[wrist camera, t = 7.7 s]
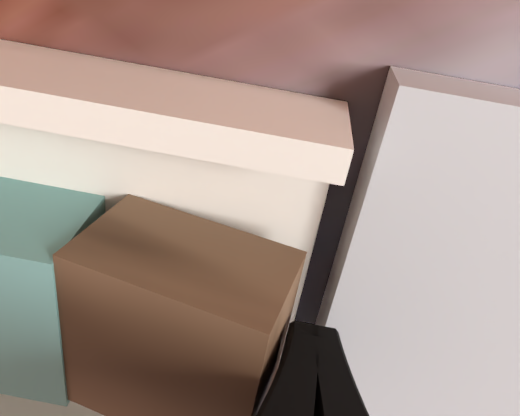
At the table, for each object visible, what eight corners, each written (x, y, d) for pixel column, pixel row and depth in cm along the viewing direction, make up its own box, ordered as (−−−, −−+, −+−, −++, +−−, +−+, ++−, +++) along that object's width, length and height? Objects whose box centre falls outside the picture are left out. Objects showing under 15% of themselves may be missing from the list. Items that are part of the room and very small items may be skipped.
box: (269, 409, 18) (261, 485, 15) (-83, 341, 18) (-144, 406, 16) (347, 101, 11) (354, 149, 9) (-198, 3, 12) (-331, 25, 9)
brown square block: (274, 382, 14) (238, 474, 12) (128, 325, 15) (68, 399, 13) (307, 251, 12) (269, 334, 9) (129, 194, 13) (52, 254, 10)
